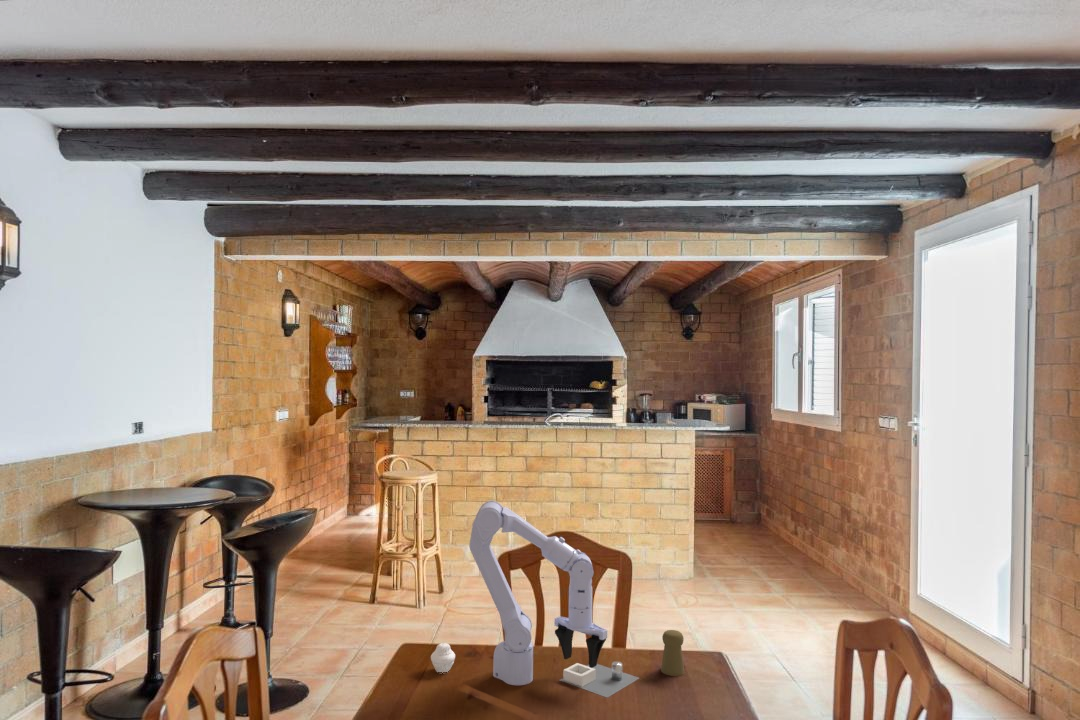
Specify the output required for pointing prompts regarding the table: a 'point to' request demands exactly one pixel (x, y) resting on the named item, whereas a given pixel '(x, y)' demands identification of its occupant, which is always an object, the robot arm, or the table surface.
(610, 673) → the board
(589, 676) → the collar
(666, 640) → the cork
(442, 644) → the white rounded jar shape
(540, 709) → the table surface
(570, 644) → the robot arm
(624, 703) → the table surface
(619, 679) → the post
